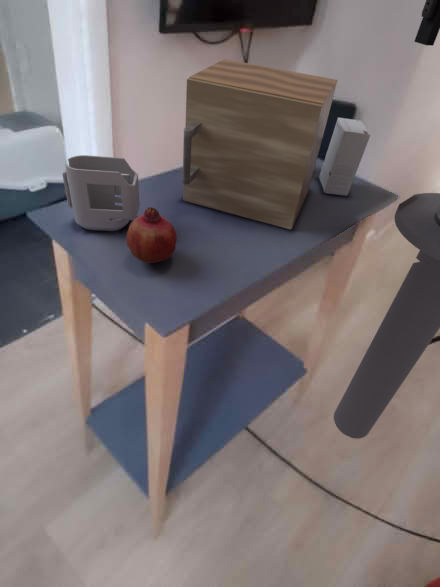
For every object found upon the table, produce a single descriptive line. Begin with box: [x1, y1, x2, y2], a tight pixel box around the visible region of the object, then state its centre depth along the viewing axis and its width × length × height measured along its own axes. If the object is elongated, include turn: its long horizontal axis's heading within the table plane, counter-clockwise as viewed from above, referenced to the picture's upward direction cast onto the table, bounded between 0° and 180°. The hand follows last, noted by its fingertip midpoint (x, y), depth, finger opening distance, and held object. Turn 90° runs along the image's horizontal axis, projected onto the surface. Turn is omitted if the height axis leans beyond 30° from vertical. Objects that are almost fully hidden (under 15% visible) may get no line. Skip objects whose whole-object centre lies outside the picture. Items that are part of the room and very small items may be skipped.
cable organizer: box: [62, 154, 141, 232], centre depth 70 cm, size 7×12×12 cm, turn 93°
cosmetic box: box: [318, 117, 371, 197], centre depth 89 cm, size 8×6×15 cm
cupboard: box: [188, 58, 338, 228], centre depth 80 cm, size 18×24×24 cm
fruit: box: [125, 206, 178, 264], centre depth 64 cm, size 8×8×10 cm
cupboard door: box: [181, 77, 322, 231], centre depth 71 cm, size 6×24×23 cm, turn 70°
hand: (423, 43), depth 62 cm, fingers closed
